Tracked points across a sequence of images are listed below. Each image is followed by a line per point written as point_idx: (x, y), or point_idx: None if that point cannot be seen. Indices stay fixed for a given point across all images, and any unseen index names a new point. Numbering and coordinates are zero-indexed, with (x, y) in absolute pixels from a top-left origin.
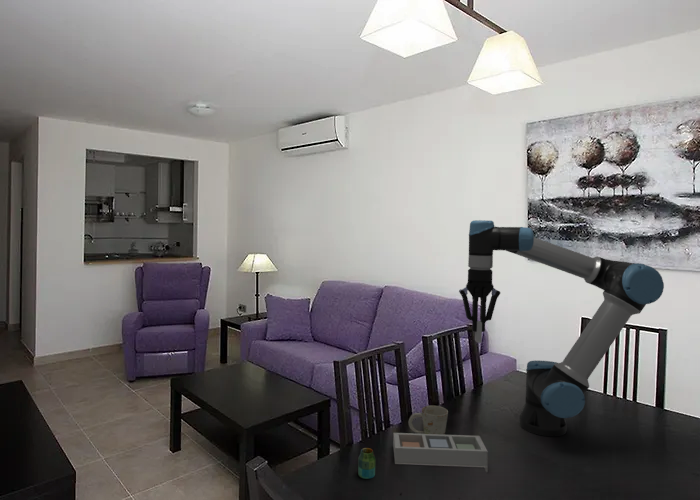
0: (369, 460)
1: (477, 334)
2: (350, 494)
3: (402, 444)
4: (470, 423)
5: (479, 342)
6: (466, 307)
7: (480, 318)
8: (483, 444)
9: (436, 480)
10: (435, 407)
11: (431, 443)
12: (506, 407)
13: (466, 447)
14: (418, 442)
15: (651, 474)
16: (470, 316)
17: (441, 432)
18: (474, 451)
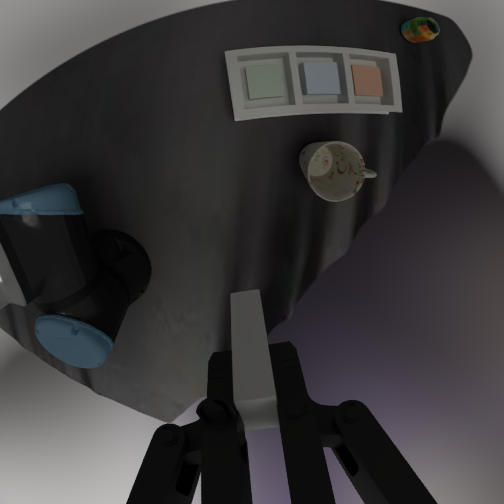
0: (422, 17)
1: (260, 324)
2: (416, 7)
3: (381, 88)
4: (240, 251)
5: (242, 292)
6: (414, 484)
7: (245, 443)
8: (230, 78)
9: (314, 24)
10: (332, 198)
11: (336, 75)
12: (174, 328)
13: (264, 83)
14: (356, 94)
15: (7, 150)
16: (350, 428)
17: (311, 145)
18: (252, 48)
